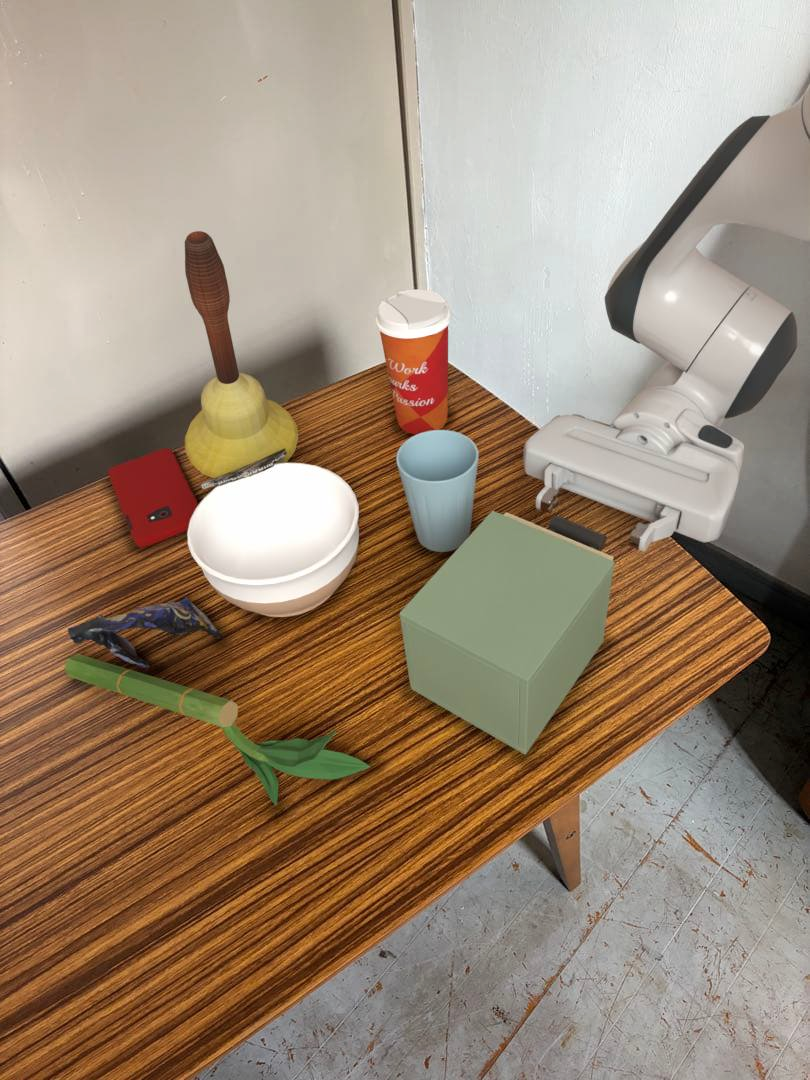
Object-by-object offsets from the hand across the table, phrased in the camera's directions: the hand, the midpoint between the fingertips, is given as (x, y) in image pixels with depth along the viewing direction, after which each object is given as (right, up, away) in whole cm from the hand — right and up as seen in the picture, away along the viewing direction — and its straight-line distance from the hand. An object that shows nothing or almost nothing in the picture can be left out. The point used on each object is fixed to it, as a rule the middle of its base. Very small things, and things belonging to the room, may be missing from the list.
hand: (588, 524), depth 72 cm
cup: (-13, -1, +9) cm, 16 cm away
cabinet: (-8, -12, -3) cm, 15 cm away
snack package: (-46, -11, -2) cm, 47 cm away
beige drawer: (-5, -9, -1) cm, 11 cm away
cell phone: (-45, +4, +16) cm, 48 cm away
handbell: (-34, +10, +14) cm, 39 cm away
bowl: (-28, -5, +7) cm, 29 cm away
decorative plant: (-34, -18, -5) cm, 39 cm away
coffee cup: (-14, +13, +23) cm, 30 cm away
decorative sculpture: (-28, +8, +11) cm, 31 cm away
